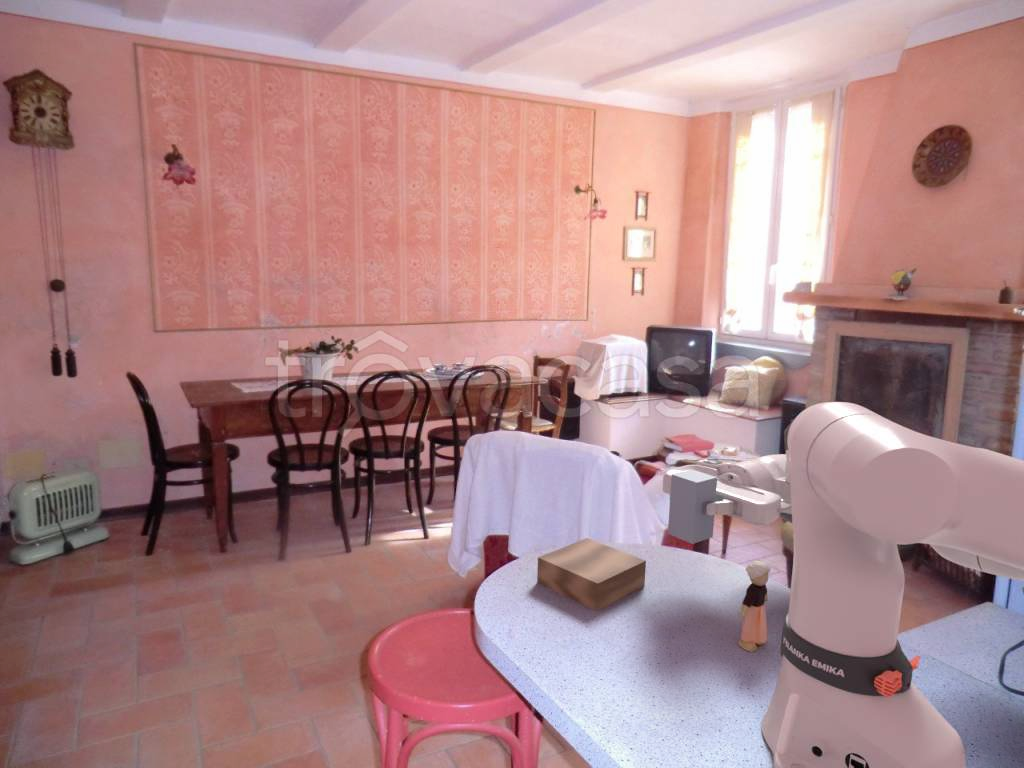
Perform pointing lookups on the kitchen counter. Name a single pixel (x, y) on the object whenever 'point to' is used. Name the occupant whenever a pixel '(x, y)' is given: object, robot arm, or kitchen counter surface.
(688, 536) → the slate pillar block
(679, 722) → the kitchen counter surface
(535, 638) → the kitchen counter surface
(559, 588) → the walnut block
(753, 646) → the grandmother figurine
